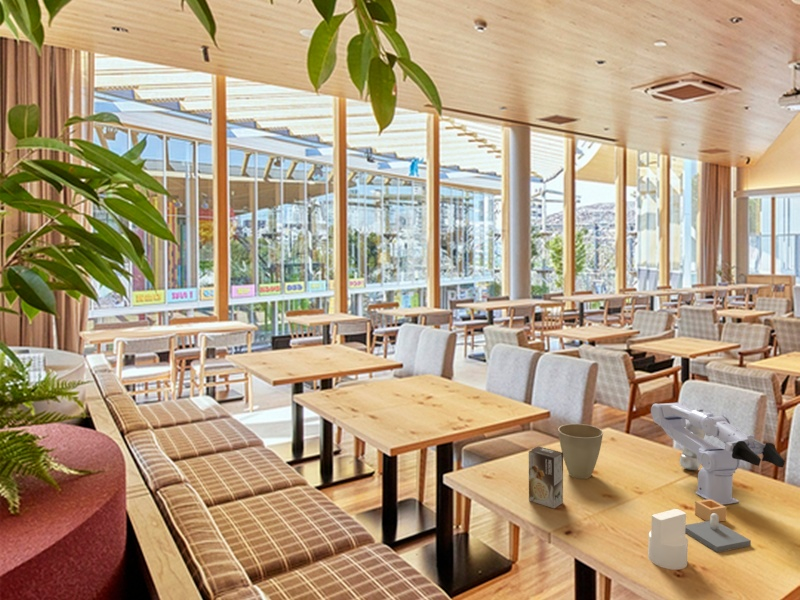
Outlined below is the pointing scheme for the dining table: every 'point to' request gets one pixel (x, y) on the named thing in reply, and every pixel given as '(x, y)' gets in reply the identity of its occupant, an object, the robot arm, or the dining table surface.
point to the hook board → (716, 535)
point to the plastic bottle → (687, 456)
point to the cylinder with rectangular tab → (668, 540)
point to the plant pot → (580, 448)
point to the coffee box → (546, 477)
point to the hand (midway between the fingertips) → (771, 463)
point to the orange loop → (709, 509)
